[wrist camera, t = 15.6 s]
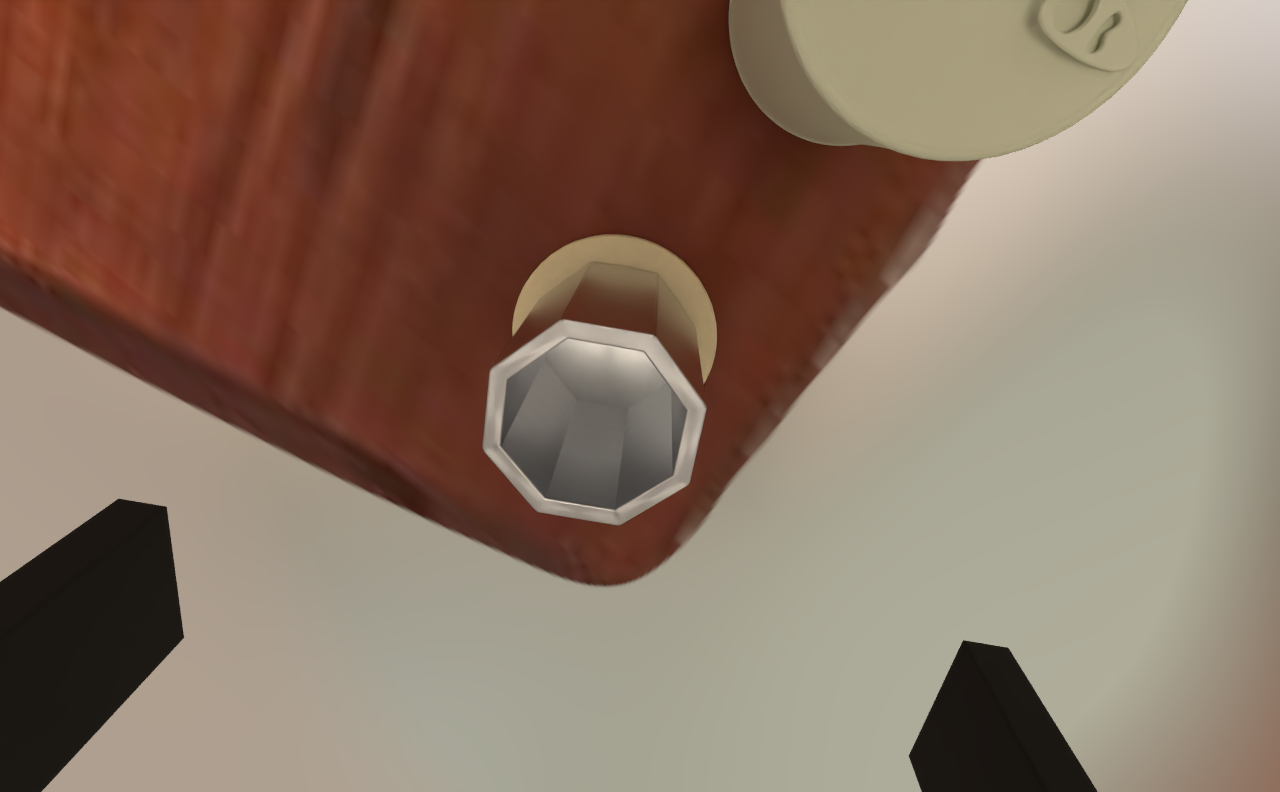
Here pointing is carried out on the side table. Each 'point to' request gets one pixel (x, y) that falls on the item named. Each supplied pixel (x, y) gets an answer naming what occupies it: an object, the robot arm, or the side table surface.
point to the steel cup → (598, 397)
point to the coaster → (633, 255)
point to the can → (940, 68)
